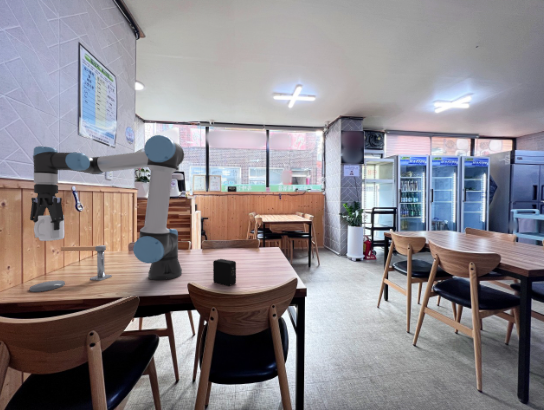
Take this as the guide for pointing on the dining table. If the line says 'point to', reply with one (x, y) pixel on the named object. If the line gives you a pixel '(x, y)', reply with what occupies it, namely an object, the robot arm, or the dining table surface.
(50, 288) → the disc
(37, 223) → the mug
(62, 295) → the dining table surface
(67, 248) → the orange-brown wooden bar
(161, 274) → the robot arm
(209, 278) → the dining table surface
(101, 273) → the post
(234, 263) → the electronic device
